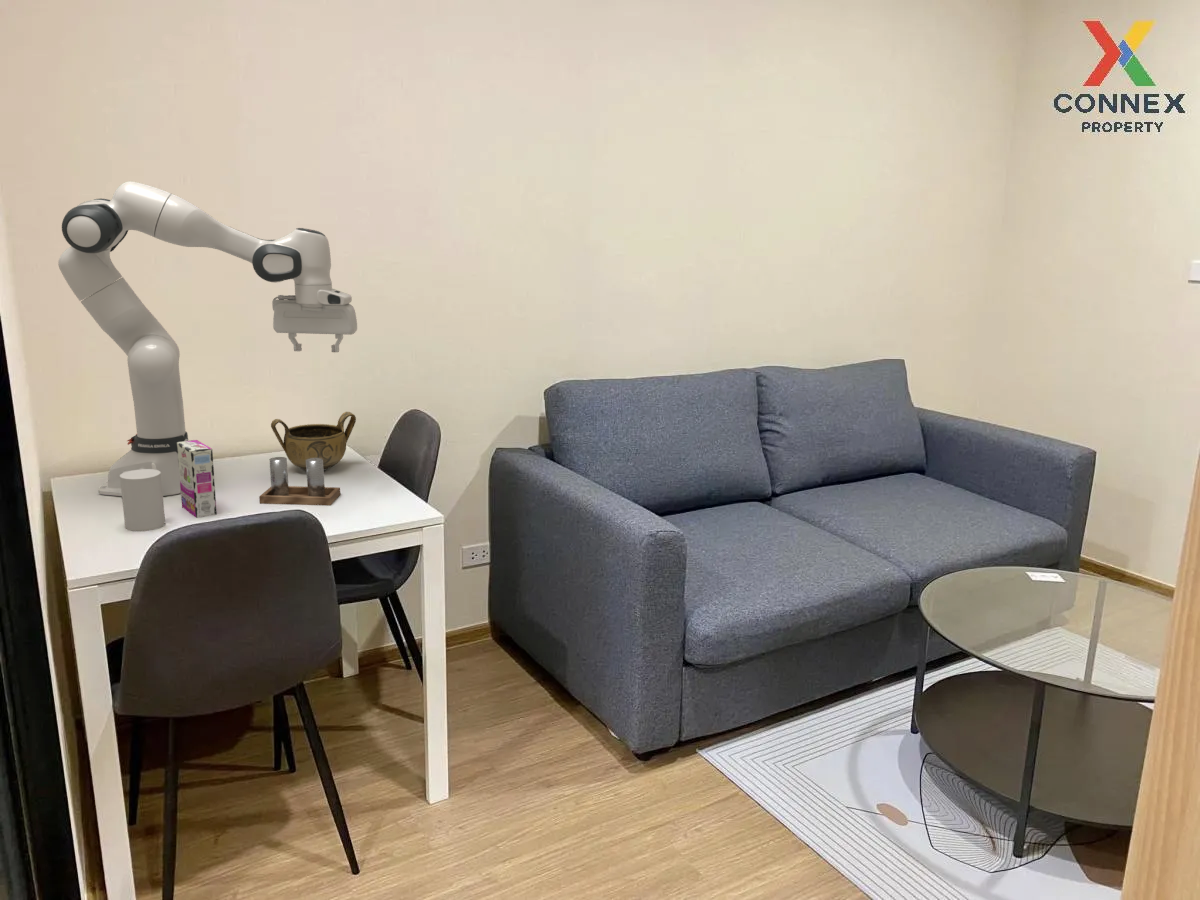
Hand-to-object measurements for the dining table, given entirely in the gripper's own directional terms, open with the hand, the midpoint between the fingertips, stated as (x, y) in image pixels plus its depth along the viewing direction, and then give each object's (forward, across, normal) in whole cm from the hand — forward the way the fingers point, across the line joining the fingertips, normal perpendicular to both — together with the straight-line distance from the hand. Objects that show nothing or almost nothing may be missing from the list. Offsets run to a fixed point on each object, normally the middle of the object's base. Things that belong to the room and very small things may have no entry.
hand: (316, 351), depth 234 cm
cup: (+35, -30, -34) cm, 58 cm away
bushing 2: (+34, +2, -14) cm, 37 cm away
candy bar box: (+35, -22, -24) cm, 48 cm away
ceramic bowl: (+35, -7, +16) cm, 39 cm away
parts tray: (+35, -2, -14) cm, 38 cm away
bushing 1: (+34, -7, -14) cm, 38 cm away
